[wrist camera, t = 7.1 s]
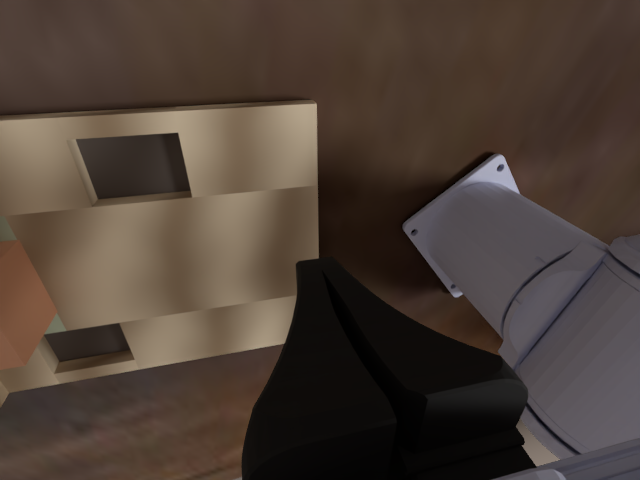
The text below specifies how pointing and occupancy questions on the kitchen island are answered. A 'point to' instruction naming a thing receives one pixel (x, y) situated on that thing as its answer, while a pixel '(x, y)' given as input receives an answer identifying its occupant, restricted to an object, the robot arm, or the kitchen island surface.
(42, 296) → the rust block
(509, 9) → the kitchen island surface
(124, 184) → the box
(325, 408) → the robot arm
